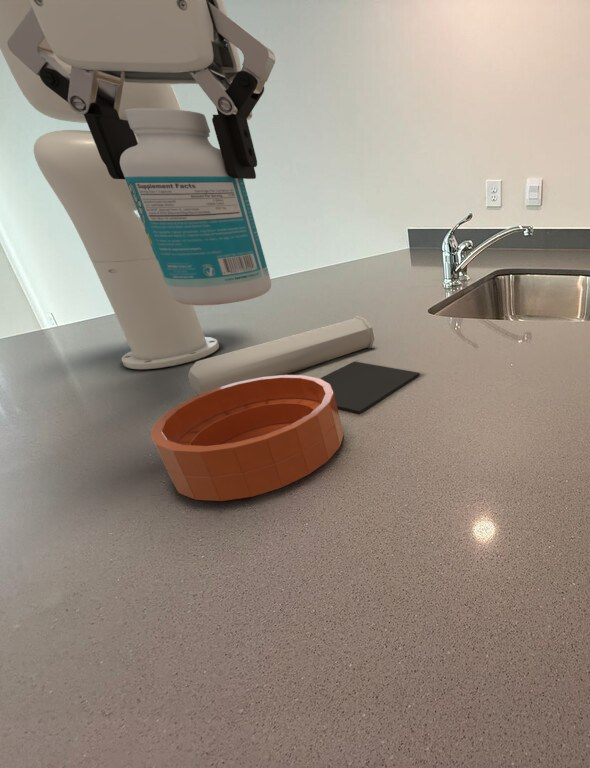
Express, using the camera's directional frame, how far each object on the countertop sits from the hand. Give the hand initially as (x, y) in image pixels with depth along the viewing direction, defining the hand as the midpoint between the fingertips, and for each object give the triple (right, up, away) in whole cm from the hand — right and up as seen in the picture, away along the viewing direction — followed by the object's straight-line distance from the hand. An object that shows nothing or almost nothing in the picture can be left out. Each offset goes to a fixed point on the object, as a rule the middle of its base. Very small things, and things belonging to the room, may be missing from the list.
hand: (187, 177), depth 31 cm
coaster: (+4, -16, +24) cm, 29 cm away
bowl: (0, -23, +9) cm, 25 cm away
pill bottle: (0, -9, +4) cm, 10 cm away
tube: (-7, -14, +29) cm, 33 cm away
